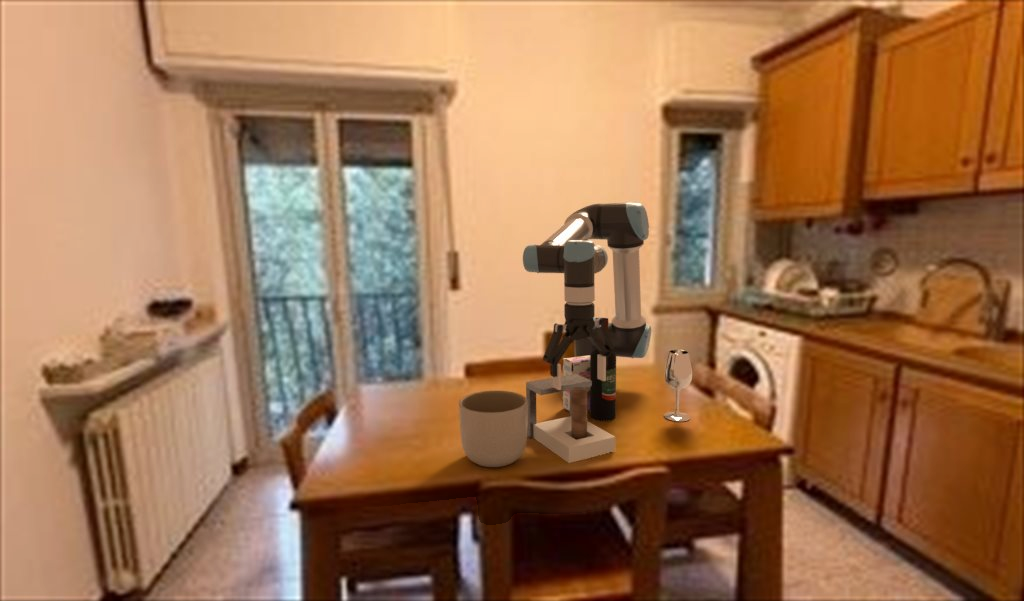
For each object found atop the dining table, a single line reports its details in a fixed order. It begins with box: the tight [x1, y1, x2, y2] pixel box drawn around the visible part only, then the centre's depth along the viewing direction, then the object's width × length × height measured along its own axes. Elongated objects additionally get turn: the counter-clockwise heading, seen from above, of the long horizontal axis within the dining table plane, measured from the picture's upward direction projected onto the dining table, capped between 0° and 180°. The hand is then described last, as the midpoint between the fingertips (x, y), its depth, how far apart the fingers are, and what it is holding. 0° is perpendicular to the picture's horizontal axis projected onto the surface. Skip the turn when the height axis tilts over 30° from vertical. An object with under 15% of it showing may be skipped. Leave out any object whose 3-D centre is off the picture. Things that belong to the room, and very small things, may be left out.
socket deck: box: [532, 415, 616, 464], centre depth 149 cm, size 14×18×4 cm
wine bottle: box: [589, 317, 617, 422], centre depth 167 cm, size 8×8×30 cm
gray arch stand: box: [525, 374, 592, 440], centre depth 155 cm, size 16×8×16 cm, turn 117°
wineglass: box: [663, 349, 693, 422], centre depth 167 cm, size 8×8×20 cm
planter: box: [458, 390, 528, 468], centre depth 140 cm, size 17×17×15 cm
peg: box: [571, 387, 588, 440], centre depth 146 cm, size 4×4×16 cm
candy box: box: [562, 355, 590, 413], centre depth 176 cm, size 14×6×16 cm, turn 114°
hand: (579, 384), depth 145 cm, fingers open, 13 cm apart
